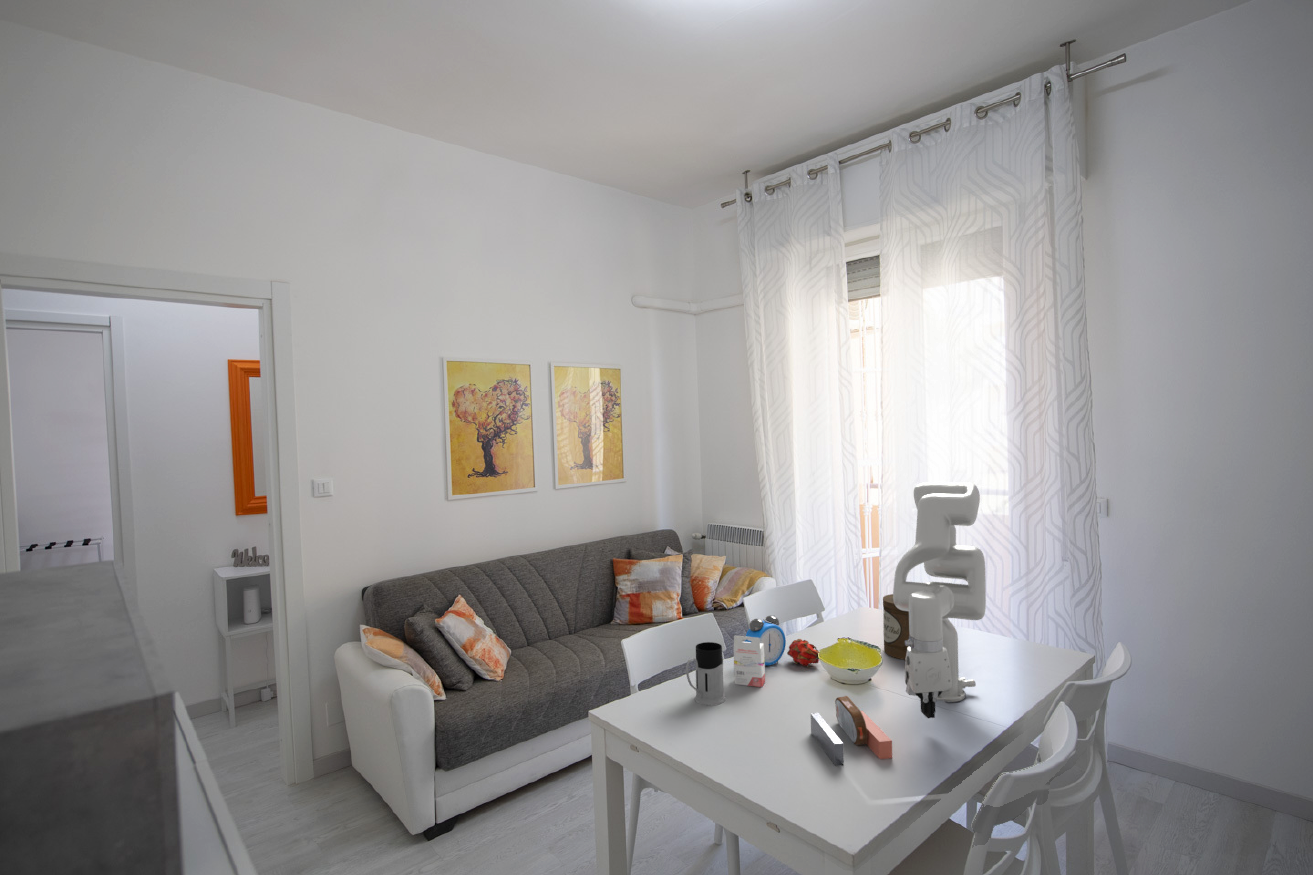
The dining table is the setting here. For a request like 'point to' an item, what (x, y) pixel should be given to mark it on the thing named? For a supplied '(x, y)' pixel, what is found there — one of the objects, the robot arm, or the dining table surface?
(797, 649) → the dragon fruit
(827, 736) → the gray metal bar
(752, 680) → the ink cartridge box
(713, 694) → the glass holder
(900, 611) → the wooden container
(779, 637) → the alarm clock
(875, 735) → the pink block
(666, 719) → the dining table surface
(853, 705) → the tin
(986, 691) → the dining table surface
